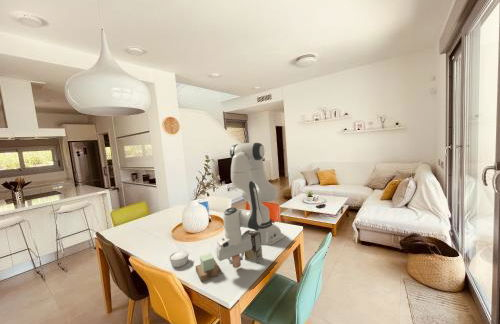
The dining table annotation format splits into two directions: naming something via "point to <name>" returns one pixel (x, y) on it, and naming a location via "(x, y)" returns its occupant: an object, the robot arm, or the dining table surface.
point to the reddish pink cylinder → (236, 261)
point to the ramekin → (179, 258)
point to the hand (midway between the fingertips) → (236, 261)
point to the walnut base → (208, 272)
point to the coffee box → (254, 247)
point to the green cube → (207, 262)
